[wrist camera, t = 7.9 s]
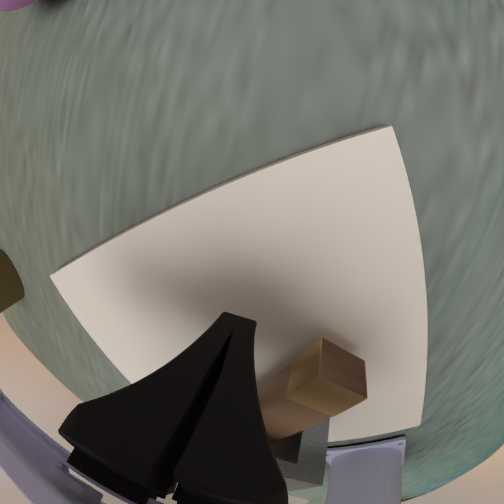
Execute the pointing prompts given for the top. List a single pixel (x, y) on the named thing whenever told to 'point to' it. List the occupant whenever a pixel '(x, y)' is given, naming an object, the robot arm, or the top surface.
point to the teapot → (14, 4)
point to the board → (276, 275)
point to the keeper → (303, 456)
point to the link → (312, 389)
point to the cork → (9, 283)
